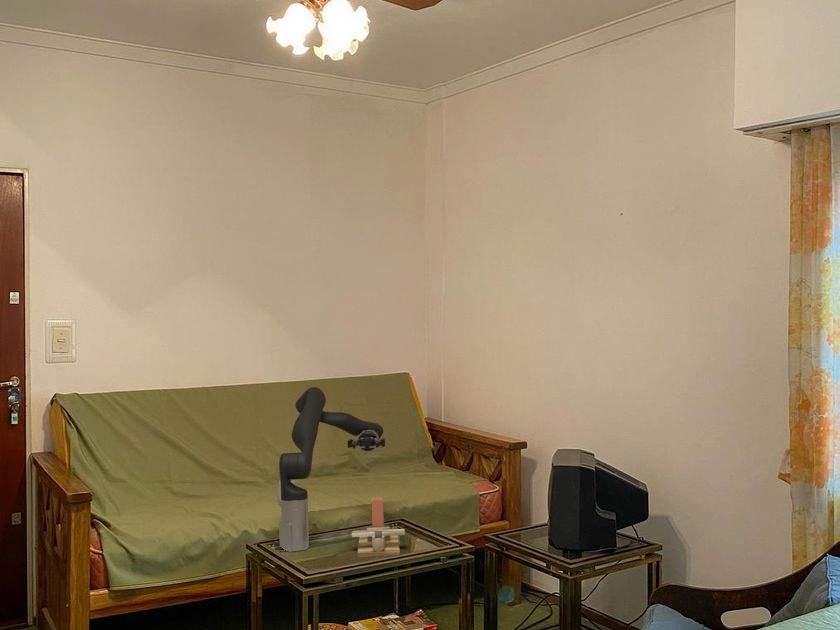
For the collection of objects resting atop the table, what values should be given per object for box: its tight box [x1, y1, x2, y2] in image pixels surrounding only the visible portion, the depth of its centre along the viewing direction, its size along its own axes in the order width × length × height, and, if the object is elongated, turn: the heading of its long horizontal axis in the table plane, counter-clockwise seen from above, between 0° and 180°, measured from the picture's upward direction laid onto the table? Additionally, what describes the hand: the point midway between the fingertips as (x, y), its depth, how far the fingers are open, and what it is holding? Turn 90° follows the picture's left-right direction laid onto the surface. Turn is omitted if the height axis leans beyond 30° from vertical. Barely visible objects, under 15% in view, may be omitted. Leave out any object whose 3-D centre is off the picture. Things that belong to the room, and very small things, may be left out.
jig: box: [351, 526, 406, 558], centre depth 295 cm, size 28×18×7 cm, turn 3°
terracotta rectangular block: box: [371, 496, 385, 527], centre depth 304 cm, size 7×4×14 cm, turn 2°
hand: (365, 445), depth 317 cm, fingers open, 8 cm apart
